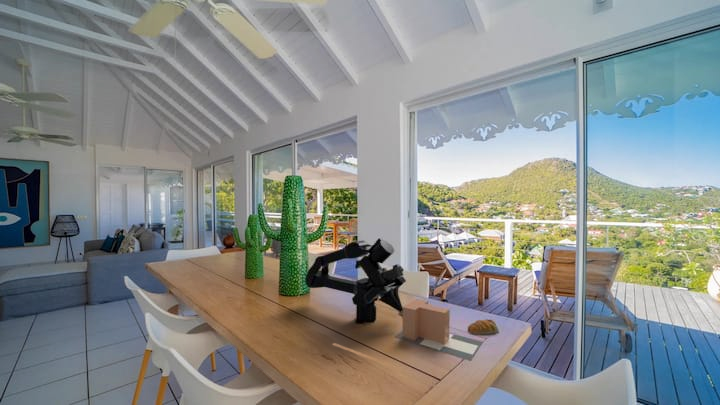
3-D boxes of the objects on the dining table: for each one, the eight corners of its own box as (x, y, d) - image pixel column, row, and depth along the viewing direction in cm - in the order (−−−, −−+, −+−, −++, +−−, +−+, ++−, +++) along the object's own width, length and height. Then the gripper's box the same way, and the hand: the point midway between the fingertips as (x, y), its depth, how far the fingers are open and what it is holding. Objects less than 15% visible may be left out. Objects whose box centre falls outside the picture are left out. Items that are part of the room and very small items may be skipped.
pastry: (477, 339, 89) (477, 327, 89) (462, 330, 95) (462, 319, 95) (500, 335, 92) (500, 322, 92) (484, 326, 98) (484, 315, 98)
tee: (402, 336, 88) (402, 307, 88) (416, 326, 96) (416, 298, 96) (441, 348, 81) (441, 316, 81) (452, 335, 89) (452, 306, 89)
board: (394, 338, 88) (394, 336, 88) (412, 324, 98) (412, 323, 98) (471, 363, 75) (471, 360, 75) (482, 343, 85) (483, 341, 85)
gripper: (373, 261, 89) (405, 305, 83) (401, 253, 104) (430, 290, 98) (352, 282, 94) (380, 325, 87) (382, 271, 109) (408, 308, 103)
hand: (401, 310), depth 94 cm, fingers closed
